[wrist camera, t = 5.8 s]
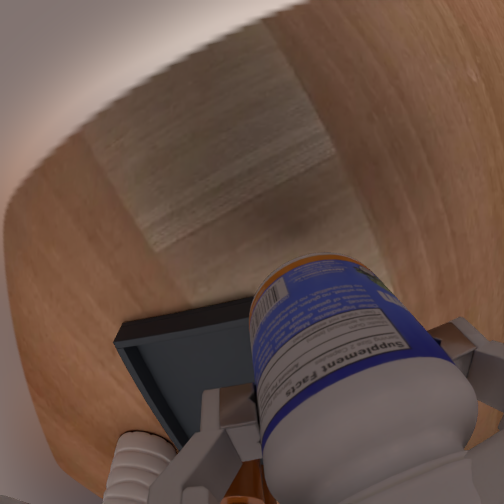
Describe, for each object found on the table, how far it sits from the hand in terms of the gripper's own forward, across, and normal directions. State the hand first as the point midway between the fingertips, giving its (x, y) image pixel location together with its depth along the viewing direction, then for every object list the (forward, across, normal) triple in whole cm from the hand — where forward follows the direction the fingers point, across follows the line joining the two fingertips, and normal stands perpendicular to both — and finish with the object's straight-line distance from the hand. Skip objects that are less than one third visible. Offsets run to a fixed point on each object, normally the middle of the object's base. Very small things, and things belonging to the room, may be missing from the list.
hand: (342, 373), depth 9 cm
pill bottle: (+4, 0, 0) cm, 4 cm away
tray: (+13, +8, +17) cm, 23 cm away
